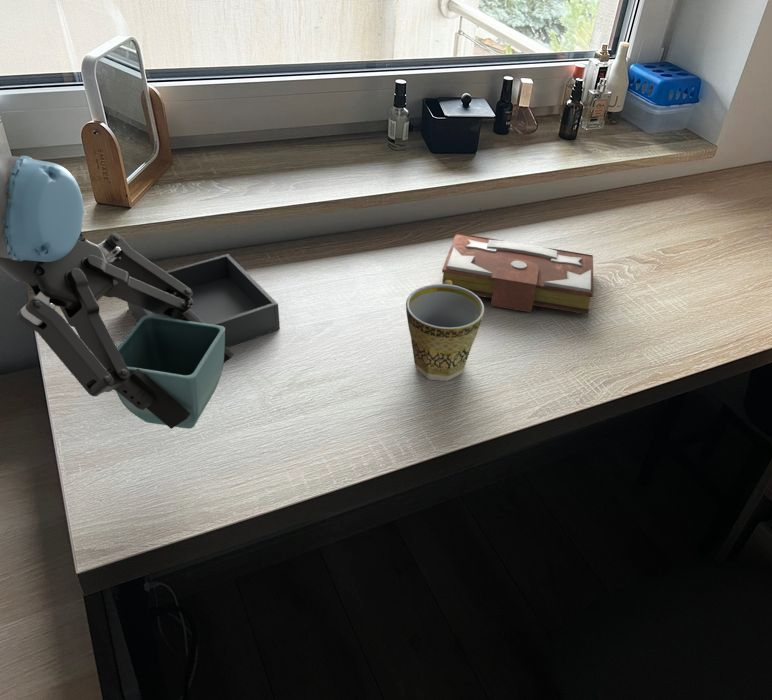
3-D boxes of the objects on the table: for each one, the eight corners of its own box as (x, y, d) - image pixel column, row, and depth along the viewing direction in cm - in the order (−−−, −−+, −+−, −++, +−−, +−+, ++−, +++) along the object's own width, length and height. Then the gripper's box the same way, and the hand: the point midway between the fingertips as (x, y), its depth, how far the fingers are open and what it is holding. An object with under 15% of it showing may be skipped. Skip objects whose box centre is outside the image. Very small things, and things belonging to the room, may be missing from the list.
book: (588, 276, 122) (594, 249, 119) (588, 321, 109) (594, 292, 106) (454, 254, 123) (457, 227, 120) (438, 296, 110) (441, 267, 107)
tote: (172, 367, 93) (167, 340, 90) (128, 308, 101) (122, 283, 99) (280, 329, 101) (278, 303, 98) (231, 278, 110) (228, 253, 107)
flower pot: (234, 390, 81) (226, 325, 75) (204, 445, 74) (193, 378, 68) (157, 379, 81) (143, 313, 75) (119, 433, 74) (101, 365, 68)
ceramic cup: (474, 393, 94) (483, 332, 88) (398, 385, 94) (401, 324, 88) (478, 334, 105) (485, 275, 98) (409, 326, 104) (412, 268, 98)
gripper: (-54, 265, 56) (172, 450, 64) (106, 158, 73) (268, 315, 81) (-92, 309, 59) (127, 479, 68) (69, 197, 76) (228, 344, 85)
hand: (203, 389), depth 75 cm, fingers closed on flower pot, 9 cm apart
